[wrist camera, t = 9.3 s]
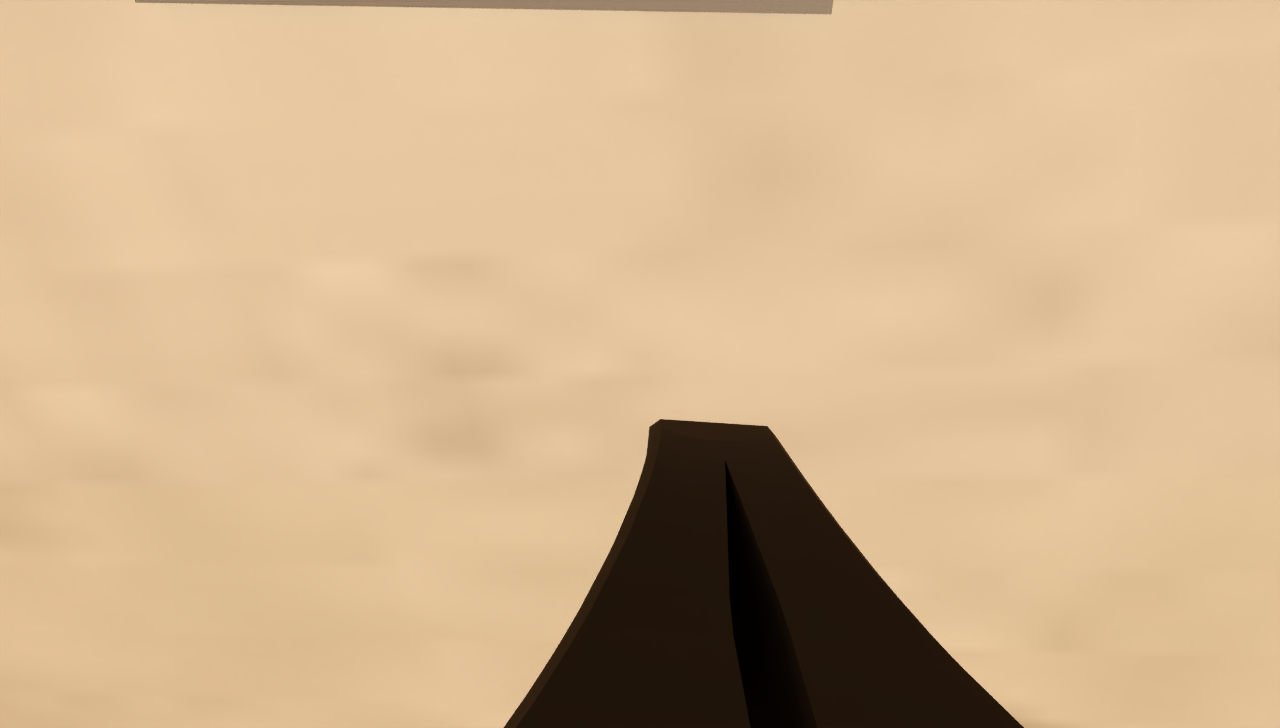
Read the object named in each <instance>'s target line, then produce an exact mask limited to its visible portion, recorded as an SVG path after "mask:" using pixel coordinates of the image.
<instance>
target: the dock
mask: <svg viewBox="0 0 1280 728" xmlns="http://www.w3.org/2000/svg"><path fill="white" fill-rule="evenodd" d="M135 2H139V3H199V4H258V5H317V6H376V7H436V8H495V9H554V10H614V11H673V12H732V13H791V14H831V13H832V5H833V0H135Z"/></svg>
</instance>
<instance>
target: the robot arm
mask: <svg viewBox="0 0 1280 728" xmlns="http://www.w3.org/2000/svg"><path fill="white" fill-rule="evenodd" d="M504 728H1024V727H1023V726H1022V725H1021V724H1019V723H1018V722H1017V721H1016V720H1015V719H1014V718H1013V717H1012V716H1011V715H1010V714H1009V713H1008V712H1007V711H1006V710H1005V709H1004V708H1003V707H1002V706H1001V705H1000V704H999V703H998V702H997V701H996V700H995V699H994V698H993V697H992V696H991V695H990V694H989V693H988V692H987V691H986V690H985V689H984V688H983V687H982V686H981V685H980V684H979V683H977V682H976V681H975V680H974V679H973V678H972V677H971V676H970V675H969V674H968V673H967V672H966V671H965V670H964V669H963V668H962V667H961V666H960V665H959V664H958V663H957V662H956V661H955V660H954V659H953V658H952V657H951V655H950V654H949V653H948V652H947V651H946V650H945V649H944V648H943V647H942V646H941V645H940V644H939V643H938V642H937V641H936V639H935V638H934V637H933V636H932V635H931V634H930V633H929V632H928V631H927V630H926V628H925V627H924V626H923V625H922V624H921V623H920V622H919V621H918V619H917V618H916V617H915V616H914V615H913V614H912V613H911V611H910V610H909V609H908V608H907V607H906V606H905V605H904V604H903V602H902V601H901V600H900V599H899V598H898V597H897V596H896V594H895V593H894V592H893V591H892V590H891V588H890V587H889V586H888V585H887V584H886V583H885V581H884V580H883V579H882V578H881V577H880V575H879V574H878V573H877V572H876V571H875V569H874V568H873V567H872V566H871V564H870V563H869V562H868V561H867V559H866V558H865V557H864V556H863V554H862V553H861V552H860V550H859V549H858V548H857V547H856V545H855V544H854V543H853V542H852V540H851V539H850V538H849V537H848V535H847V534H846V533H845V532H844V530H843V529H842V528H841V527H840V525H839V524H838V523H837V521H836V520H835V519H834V517H833V516H832V515H831V513H830V512H829V511H828V509H827V508H826V507H825V505H824V504H823V503H822V501H821V500H820V498H819V497H818V496H817V494H816V493H815V492H814V490H813V489H812V487H811V486H810V485H809V483H808V482H807V481H806V479H805V478H804V476H803V475H802V473H801V472H800V471H799V469H798V468H797V466H796V465H795V463H794V462H793V461H792V459H791V458H790V456H789V455H788V453H787V452H786V451H785V449H784V448H783V446H782V445H781V443H780V442H779V440H778V439H777V438H776V436H775V435H774V434H773V432H772V431H771V430H770V429H769V428H768V426H755V425H740V424H725V423H710V422H694V421H679V420H664V419H660V420H659V421H657V422H656V423H655V424H653V425H652V426H650V427H649V438H648V448H647V456H646V460H645V464H644V467H643V471H642V474H641V477H640V480H639V483H638V486H637V488H636V491H635V494H634V497H633V499H632V502H631V504H630V506H629V509H628V511H627V514H626V516H625V518H624V521H623V523H622V525H621V528H620V530H619V533H618V535H617V537H616V540H615V542H614V544H613V546H612V548H611V550H610V552H609V554H608V556H607V558H606V560H605V562H604V564H603V566H602V568H601V570H600V572H599V573H598V575H597V577H596V579H595V581H594V583H593V585H592V587H591V589H590V591H589V593H588V595H587V596H586V598H585V600H584V602H583V604H582V606H581V608H580V610H579V611H578V613H577V615H576V617H575V618H574V620H573V622H572V623H571V625H570V627H569V629H568V630H567V632H566V634H565V635H564V637H563V639H562V640H561V642H560V644H559V645H558V647H557V648H556V650H555V652H554V653H553V655H552V657H551V658H550V660H549V661H548V663H547V664H546V666H545V667H544V669H543V671H542V672H541V674H540V675H539V677H538V678H537V680H536V682H535V683H534V685H533V686H532V688H531V689H530V691H529V692H528V694H527V695H526V697H525V698H524V700H523V701H522V702H521V704H520V705H519V707H518V708H517V709H516V711H515V712H514V714H513V715H512V717H511V718H510V719H509V721H508V722H507V724H506V725H505V727H504Z"/></svg>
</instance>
